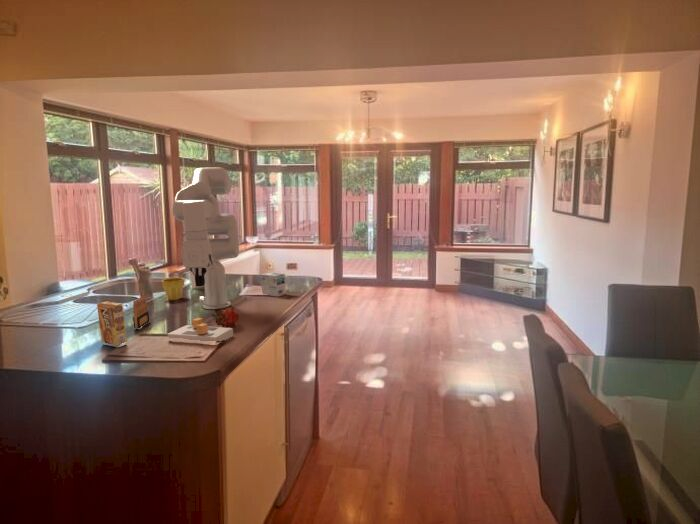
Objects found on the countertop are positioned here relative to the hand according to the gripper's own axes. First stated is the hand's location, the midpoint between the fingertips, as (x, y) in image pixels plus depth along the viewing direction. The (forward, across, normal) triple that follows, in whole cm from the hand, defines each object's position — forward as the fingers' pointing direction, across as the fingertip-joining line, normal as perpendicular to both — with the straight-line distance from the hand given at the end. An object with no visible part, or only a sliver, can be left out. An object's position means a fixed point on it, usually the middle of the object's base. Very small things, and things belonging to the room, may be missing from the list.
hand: (200, 285), depth 175 cm
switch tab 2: (+16, +4, -6) cm, 17 cm away
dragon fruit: (+19, +3, +12) cm, 23 cm away
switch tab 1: (+16, -2, 0) cm, 16 cm away
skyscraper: (+20, -56, +76) cm, 96 cm away
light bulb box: (+20, -5, +68) cm, 70 cm away
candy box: (+19, -26, -16) cm, 36 cm away
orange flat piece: (+20, -33, +6) cm, 39 cm away
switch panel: (+19, +1, -4) cm, 19 cm away
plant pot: (+20, -52, +51) cm, 75 cm away
